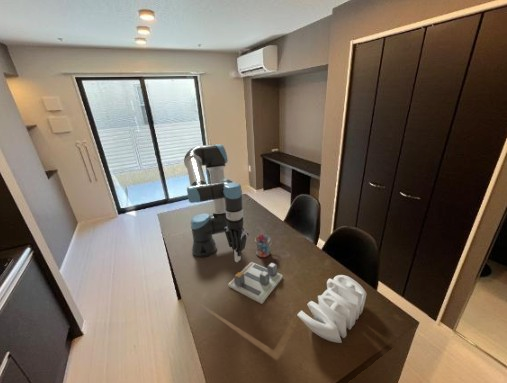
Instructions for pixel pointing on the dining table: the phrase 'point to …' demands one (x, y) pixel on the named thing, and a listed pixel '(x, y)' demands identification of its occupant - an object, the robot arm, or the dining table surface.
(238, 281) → the block
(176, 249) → the dining table surface
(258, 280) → the panel
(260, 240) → the mug
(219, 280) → the dining table surface
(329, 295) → the wavy white extrusion
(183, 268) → the dining table surface
